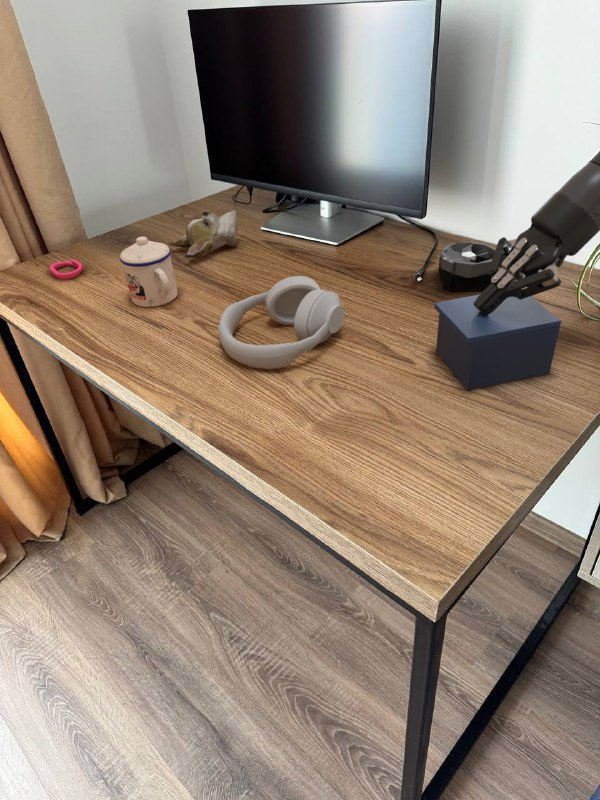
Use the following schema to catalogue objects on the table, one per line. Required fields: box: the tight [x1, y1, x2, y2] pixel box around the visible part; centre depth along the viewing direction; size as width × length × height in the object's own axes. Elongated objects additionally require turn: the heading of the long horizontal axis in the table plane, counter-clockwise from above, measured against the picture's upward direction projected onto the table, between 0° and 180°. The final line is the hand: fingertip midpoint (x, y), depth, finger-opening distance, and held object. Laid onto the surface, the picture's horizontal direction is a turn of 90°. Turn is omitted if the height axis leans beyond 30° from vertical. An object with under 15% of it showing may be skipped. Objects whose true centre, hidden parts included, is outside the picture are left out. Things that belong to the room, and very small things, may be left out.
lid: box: [433, 294, 562, 344], centre depth 82 cm, size 14×11×1 cm
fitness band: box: [49, 258, 85, 281], centre depth 123 cm, size 8×6×2 cm
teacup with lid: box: [119, 236, 178, 308], centre depth 107 cm, size 12×9×12 cm
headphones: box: [217, 275, 345, 370], centre depth 94 cm, size 18×8×20 cm
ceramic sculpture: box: [167, 209, 239, 259], centre depth 125 cm, size 11×9×15 cm
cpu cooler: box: [438, 241, 496, 292], centre depth 107 cm, size 10×6×10 cm
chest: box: [435, 312, 561, 391], centre depth 84 cm, size 13×11×8 cm
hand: (479, 310), depth 81 cm, fingers closed
